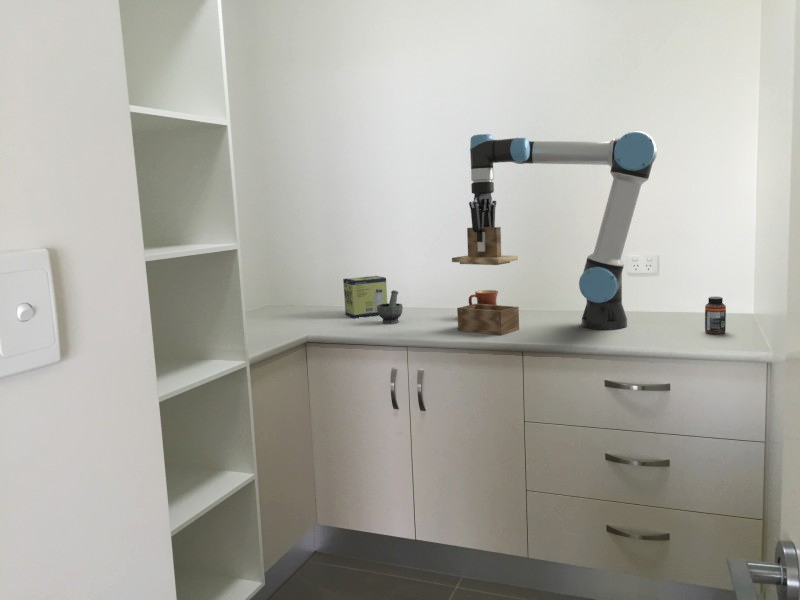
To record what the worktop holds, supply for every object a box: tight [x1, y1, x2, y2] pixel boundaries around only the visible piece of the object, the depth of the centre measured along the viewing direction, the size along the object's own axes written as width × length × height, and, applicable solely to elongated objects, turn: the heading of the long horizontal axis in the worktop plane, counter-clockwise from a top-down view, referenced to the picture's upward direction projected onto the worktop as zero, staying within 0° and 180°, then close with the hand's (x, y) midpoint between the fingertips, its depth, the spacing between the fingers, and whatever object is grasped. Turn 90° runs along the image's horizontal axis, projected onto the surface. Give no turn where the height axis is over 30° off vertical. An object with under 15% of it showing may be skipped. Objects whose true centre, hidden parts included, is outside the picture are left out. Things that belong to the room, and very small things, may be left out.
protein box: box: [342, 275, 388, 319], centre depth 280 cm, size 10×16×16 cm
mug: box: [468, 289, 499, 305], centre depth 258 cm, size 12×9×10 cm
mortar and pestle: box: [377, 290, 404, 325], centre depth 259 cm, size 11×9×12 cm
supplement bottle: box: [704, 296, 727, 335], centre depth 212 cm, size 6×6×11 cm
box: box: [456, 303, 520, 336], centre depth 234 cm, size 18×11×8 cm, turn 49°
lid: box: [451, 226, 519, 266], centre depth 231 cm, size 19×12×12 cm, turn 49°
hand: (484, 250), depth 232 cm, fingers closed on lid, 2 cm apart
